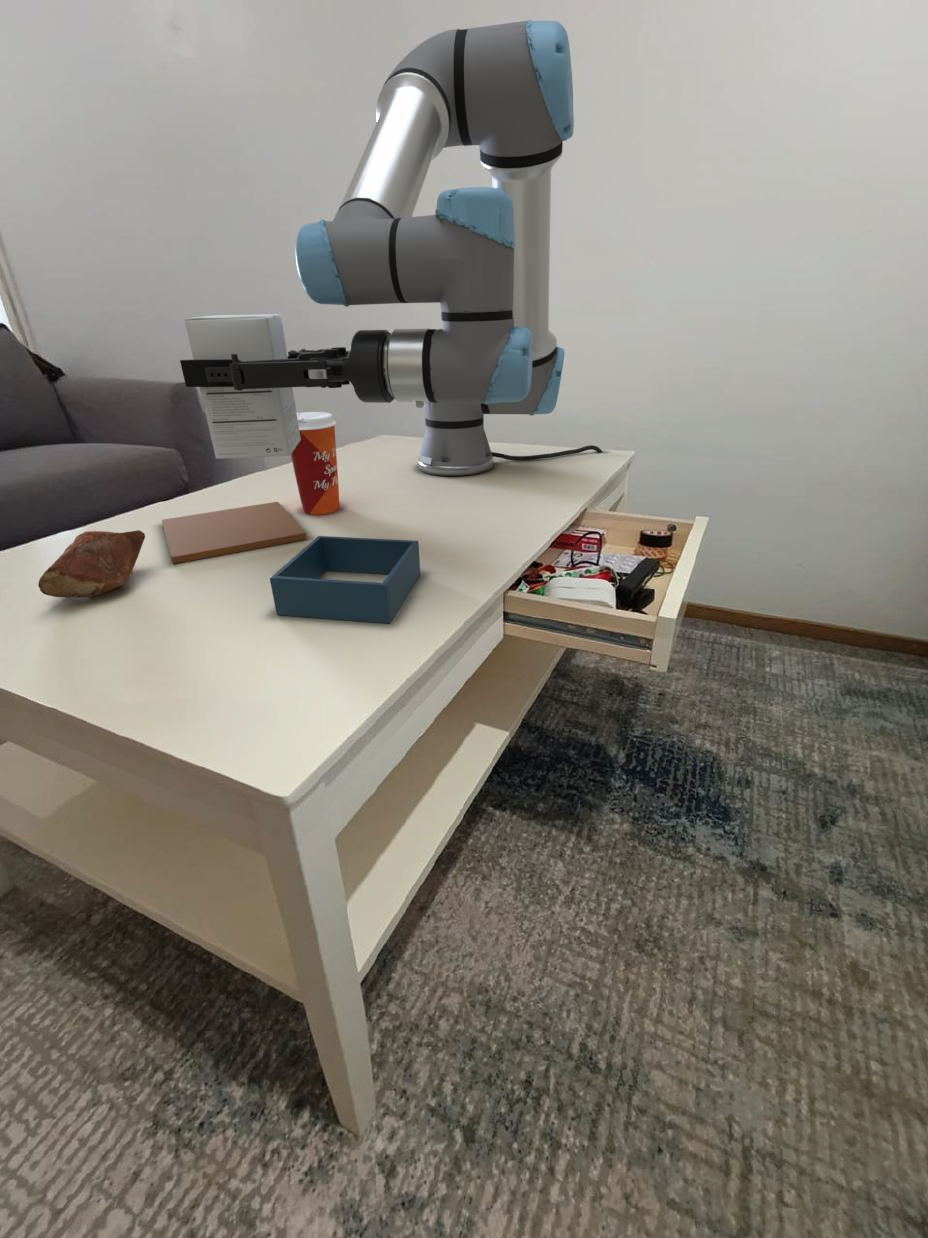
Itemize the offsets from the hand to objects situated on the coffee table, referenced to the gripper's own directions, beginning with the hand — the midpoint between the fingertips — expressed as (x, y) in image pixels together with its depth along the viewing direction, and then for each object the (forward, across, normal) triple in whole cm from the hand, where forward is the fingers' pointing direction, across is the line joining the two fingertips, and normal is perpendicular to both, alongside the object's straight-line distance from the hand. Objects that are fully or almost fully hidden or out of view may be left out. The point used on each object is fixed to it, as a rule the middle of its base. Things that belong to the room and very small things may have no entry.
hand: (213, 367), depth 69 cm
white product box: (-4, 0, -10) cm, 11 cm away
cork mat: (+8, +8, -24) cm, 26 cm away
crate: (-18, -10, -24) cm, 31 cm away
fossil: (+13, -13, -24) cm, 30 cm away
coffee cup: (-2, +20, -24) cm, 32 cm away
